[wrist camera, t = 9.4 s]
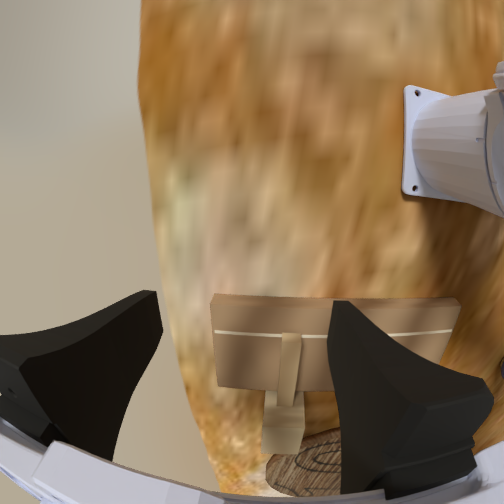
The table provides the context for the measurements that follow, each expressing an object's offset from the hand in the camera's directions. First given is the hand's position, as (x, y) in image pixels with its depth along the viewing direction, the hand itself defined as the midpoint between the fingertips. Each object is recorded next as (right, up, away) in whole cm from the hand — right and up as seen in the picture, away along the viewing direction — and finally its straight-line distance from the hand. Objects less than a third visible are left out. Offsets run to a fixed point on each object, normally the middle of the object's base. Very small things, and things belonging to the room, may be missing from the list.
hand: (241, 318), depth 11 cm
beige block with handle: (+4, -9, +14) cm, 17 cm away
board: (+8, -5, +12) cm, 15 cm away
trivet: (+15, -29, +20) cm, 38 cm away
